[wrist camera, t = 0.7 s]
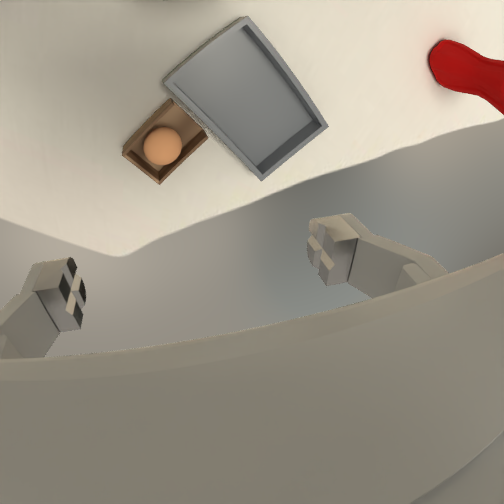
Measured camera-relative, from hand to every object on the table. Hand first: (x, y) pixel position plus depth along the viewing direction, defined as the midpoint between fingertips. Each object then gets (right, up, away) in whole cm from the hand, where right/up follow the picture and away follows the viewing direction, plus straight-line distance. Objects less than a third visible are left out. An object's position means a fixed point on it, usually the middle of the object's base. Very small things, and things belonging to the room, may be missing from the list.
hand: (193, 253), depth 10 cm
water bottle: (+39, +37, +30) cm, 62 cm away
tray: (+1, +21, +28) cm, 35 cm away
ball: (-9, +13, +26) cm, 31 cm away
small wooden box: (-10, +16, +28) cm, 34 cm away
